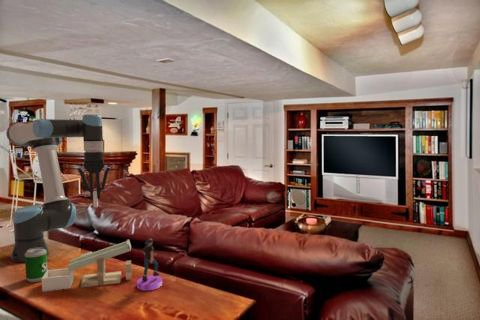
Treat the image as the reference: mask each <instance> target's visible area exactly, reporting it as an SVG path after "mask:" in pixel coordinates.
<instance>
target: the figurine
mask: <svg viewBox="0 0 480 320" xmlns="http://www.w3.org/2000/svg"><path fill="white" fill-rule="evenodd" d="M153 242H154V239H152V238H150V237H149V238H148V239H146V241H145V242H144V244H145V246H144V248H143V249H142V253H143V254H144V262H143V263H144V270H143V275H142V277H140V278H138V279H137V280H136V287H137V288H138V290H141V291H152V290H153V291H154V290H157V289H159V288H161V287H162V286H163V277H161V276H160V273H159V272H158V270H159V269H158V268H159V263H158V262H157V260H156V259H155V258H154V251H155V248H154V246H153ZM149 263H150V264H153V265H154V266H153V267H154V269H153V273H152V274H149V275H148V271H149ZM160 286H161V287H160Z"/></svg>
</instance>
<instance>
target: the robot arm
mask: <svg viewBox="0 0 480 320" xmlns="http://www.w3.org/2000/svg"><path fill="white" fill-rule="evenodd" d="M103 132H104V131H103V118H102V116H101V115H100V114H91V113H90V114H83V115H82V119H51V118H49V119H48V118H39V119H38V118H37V119H35V120H34V121H33V122H25V121H24V122H16V123H13V124H11V125H9V126H8V127H7V129H6V133H5V134H6V138H7V139H8V141H9V142H11V143H12V144H13V145H16V146H21V147H32V151H33V152H35V153H36V155H37V159H38V165H39V171H40V176H41V182H42V188H43V193H44V197H45V200H44V202H43V203H42V205H43V206H42V205H40V204H33V205H32V204H31V205H27V206H23V207H20V208H18V209H16V210H15V211H14V212H13V215H12V216H13V219H12V223H13V234H14V244H13V247H12V251H11V255H10V258H11V261H12V262H14V263H25V253H26V252H27V250H29V249H32V248H38V247H42V248H44V249H45V250H46V251H47V257H48V256H49V255H50V252H49V248H48V247H49V246H48V245H47V243H46V240H45V237H44V236H45V235H44V232H49V231H54V230H60V229H65V228H68V227H71V226H72V225H73V224H74V223H75V221H76V218H77V208H76V206H75V204H74V203H73V202H72V201H71V202H70V199H69V198H68V197H67V196H66V195H65V190H64V184H63V179H62V174H61V168H60V164H59V159H58V154H57V151H58V149H59V148H60V145H61V144H62V142H63V141H62V138H82V139H83V140H82V141H83V151H84V153H83V162H84V163H83V164H82V166H81V167H79V168H77V171H78V173H79V174H80V176H81V180H82V183H83V186H84V190H85V191H86V192H89V193H90V194H89V196H90V200H93V201H92V202H93V203H92V204H93V208H98V207H99V200H100V199H101V191H104V190H105V189H106V188H105V187H106V183H107V179H108V173H109V172H110V170H111V167H110V166H107V165H106V164H105V162H104V160H105V159H104V151H103V150H104V140H103V139H104V136H103ZM85 171H86V172H87V173H89V183H88V180H87V177H86V173H85ZM102 171H104V174H103V177H102V182H101V175H100V174H101V172H102ZM94 174H95V181H96V182H95V183H96V184H95V185H96V190H95V189H94V188H95V185H94ZM101 183H102V184H101Z"/></svg>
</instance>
